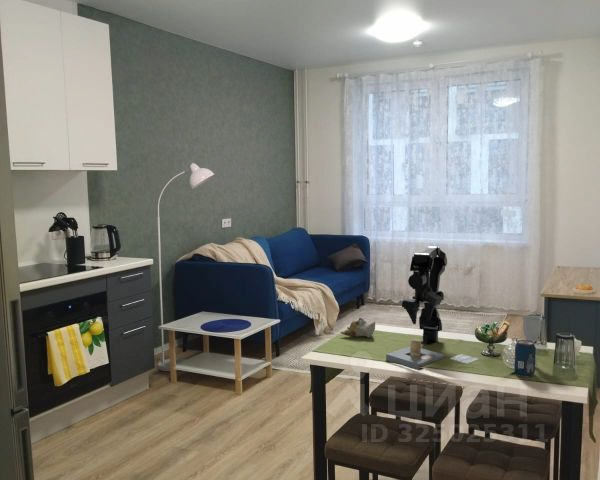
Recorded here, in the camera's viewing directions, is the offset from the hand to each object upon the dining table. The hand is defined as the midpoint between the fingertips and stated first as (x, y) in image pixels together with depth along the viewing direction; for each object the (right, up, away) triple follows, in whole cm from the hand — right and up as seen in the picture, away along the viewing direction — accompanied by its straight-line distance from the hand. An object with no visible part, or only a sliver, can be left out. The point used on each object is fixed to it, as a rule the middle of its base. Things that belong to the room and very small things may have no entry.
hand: (421, 322), depth 229 cm
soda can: (+32, -16, -24) cm, 43 cm away
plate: (+14, -14, -10) cm, 22 cm away
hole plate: (-4, -14, -7) cm, 16 cm away
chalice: (+39, -14, -13) cm, 43 cm away
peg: (-4, -14, -7) cm, 16 cm away
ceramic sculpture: (-22, -11, +27) cm, 37 cm away
